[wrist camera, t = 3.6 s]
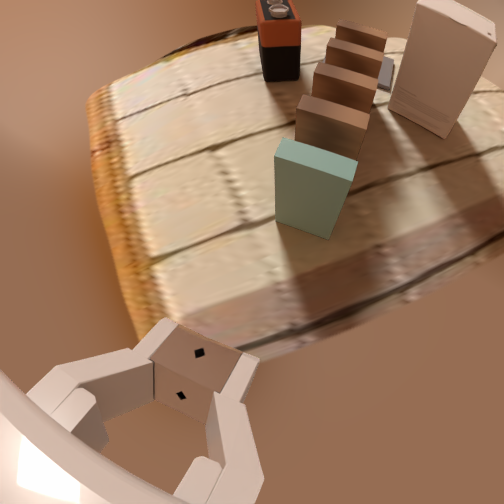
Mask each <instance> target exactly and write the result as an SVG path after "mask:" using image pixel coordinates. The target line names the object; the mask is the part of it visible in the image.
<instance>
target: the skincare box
mask: <svg viewBox="0 0 504 504" xmlns="http://www.w3.org/2000/svg"><path fill="white" fill-rule="evenodd" d="M496 46H497V38H496V31H495V23H494V22H492V21H490V20H489V19H487V18H485V17H483V16H482V15H480V14H478V13H476V12H474V11H472V10H471V9H469V8H467V7H465V6H463V5H461V4H459V3H457V2H455V1H453V0H418V2H417V3H416V8H415V12H414V16H413V20H412V25H411V28H410V32H409V36H408V40H407V43H406V47H405V51H404V54H403V58H402V61H401V65H400V68H399V72H398V75H397V78H396V82H395V85H394V88H393V91H392V95H391V98H390V101H389V104H388V109H390V110H392V111H394V112H396V113H398V114H400V115H402V116H404V117H406V118H408V119H409V120H411V121H413V122H415V123H417V124H419V125H421V126H422V127H424V128H426V129H428V130H429V131H431V132H433V133H435V134H436V135H438V136H440V137H441V138H443V139H446V137H447V136H448V134H449V132H450V131H451V129H452V127H453V126H454V124H455V122H456V120H457V119H458V117H459V115H460V113H461V112H462V110H463V108H464V106H465V104H466V103H467V101H468V99H469V97H470V95H471V93H472V92H473V90H474V88H475V86H476V84H477V82H478V80H479V78H480V76H481V74H482V72H483V71H484V69H485V66H486V65H487V62H488V60H489V58H490V56H491V54H492V52H493V51H494V49H495V47H496Z"/></svg>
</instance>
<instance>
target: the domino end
mask: <svg viewBox="0 0 504 504" xmlns="http://www.w3.org/2000/svg"><path fill="white" fill-rule="evenodd" d="M357 164H358V161H355V160H352V159H350V158H347V157H344V156H341V155H338V154H335V153H332V152H329V151H326V150H323V149H320V148H317V147H314V146H310V145H307V144H304V143H301V142H297V141H294V140H290V139H287V138H282V140H281V142H280V144H279V147H278V149H277V151H276V153H275V155H274V170H275V216H276V221H277V222H280V223H282V224H285V225H288V226H291V227H294V228H297V229H299V230H302V231H305V232H308V233H311V234H313V235H316V236H319V237H322V238H325V239H327V240H329V238H330V235H331V233H332V231H333V228H334V226H335V223H336V221H337V219H338V216H339V214H340V211H341V209H342V207H343V204H344V202H345V199H346V197H347V194H348V192H349V189H350V187H351V184H352V181H353V178H354V175H355V171H356V168H357Z"/></svg>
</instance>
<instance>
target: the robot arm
mask: <svg viewBox="0 0 504 504" xmlns="http://www.w3.org/2000/svg"><path fill="white" fill-rule="evenodd" d="M259 362H260V359H259V358H257V357H254V356H252V355H249V354H247V353H244V352H242V351H239V350H237V349H234V348H232V347H230V346H227V345H225V344H222V343H220V342H217V341H215V340H213V339H209V338H207V337H205V336H203V335H201V334H199V333H197V332H195V331H193V330H191V329H189V328H187V327H185V326H183V325H181V324H178V323H176V322H174V321H172V320H170V319H168V318H166V317H165V318H163V319H161V320H160V321H159V322H158V323H157V324H156V325H155V326H154V327H153V328H152V329H151V330H150V332H149V333H148V334H147V335H146V336H145V337H144V338H143V339H142V340H141V341H140V342H139V343H138V345H136V347H135V348H134V349H133V350H131V349H129V348H126V349H122V350H118V351H115V352H111V353H107V354H103V355H99V356H95V357H91V358H87V359H83V360H79V361H75V362H70V363H66V364H62V365H57V366H55V367H54V368H53V369H52V370H51V371H50V372H49V373H48V374H47V375H46V376H45V377H44V378H43V379H41V380H40V381H39V382H38V383H37V384H36V385H35V386H34V387H33V388H32V389H31V390H30V391H29V392H28V393H27V394H25V393H23V392H22V391H21V390H20V389H19V388H18V387H17V386H16V385H15V384H14V383H13V382H12V381H11V380H10V379H9V378H8V377H7V376H6V375H5V374H4V373H3V372H2V371H1V369H0V504H254V503H255V501H256V498H257V496H258V494H259V491H260V488H261V486H262V483H263V481H264V476H263V473H262V469H261V465H260V461H259V458H258V454H257V450H256V446H255V442H254V438H253V434H252V430H251V426H250V422H249V418H248V414H247V410H246V406H245V404H243V402H244V399H245V397H246V395H247V393H248V390H249V388H250V385H251V383H252V380H253V378H254V375H255V373H256V370H257V368H258V365H259ZM154 400H156V401H158V402H161V403H162V404H164V405H166V406H168V407H171V408H173V409H175V410H177V411H179V412H181V413H183V414H185V415H187V416H189V417H191V418H193V419H195V420H197V421H199V422H201V423H203V424H205V425H206V426H205V427H206V436H207V445H208V453H209V459H208V458H206V457H203V456H200V457H197V458H195V459H194V461H193V463H192V464H191V466H190V468H189V469H188V471H187V473H186V474H185V476H184V478H183V480H182V481H181V483H180V484H179V486H178V488H177V489H176V491H175V493H174V494H173V495H171V494H169V493H167V492H165V491H163V490H161V489H159V488H157V487H155V486H153V485H151V484H150V483H148V482H146V481H144V480H142V479H140V478H139V477H137V476H135V475H133V474H131V473H130V472H128V471H126V470H125V469H123V468H122V467H120V466H118V465H117V464H115V463H114V462H112V461H110V460H109V459H107V458H106V457H104V456H103V455H101V454H100V453H101V451H102V450H103V448H104V447H105V446H106V445H107V443H108V442H109V438H108V435H107V432H106V429H105V426H104V423H103V422H105V421H107V420H110V419H112V418H115V417H117V416H119V415H122V414H124V413H127V412H129V411H132V410H134V409H136V408H139V407H141V406H143V405H145V404H148V403H150V402H152V401H154Z"/></svg>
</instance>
